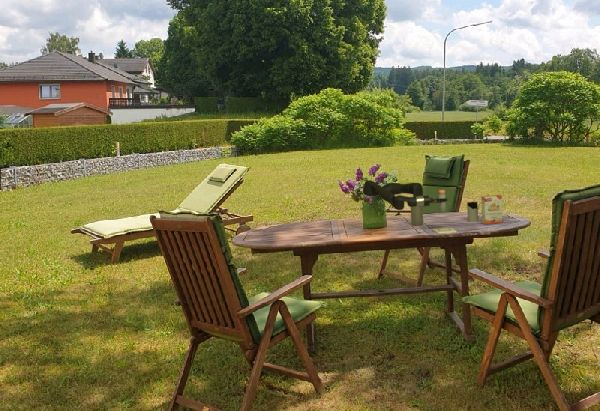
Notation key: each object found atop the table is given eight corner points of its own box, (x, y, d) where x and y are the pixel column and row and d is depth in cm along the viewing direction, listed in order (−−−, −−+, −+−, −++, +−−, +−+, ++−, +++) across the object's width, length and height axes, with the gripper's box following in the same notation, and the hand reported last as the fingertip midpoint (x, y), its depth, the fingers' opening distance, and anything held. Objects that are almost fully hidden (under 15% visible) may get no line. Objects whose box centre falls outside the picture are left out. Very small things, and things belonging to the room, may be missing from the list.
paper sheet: (432, 230, 432) (432, 228, 432) (450, 229, 432) (450, 227, 432) (438, 233, 416) (437, 232, 416) (456, 232, 416) (456, 230, 416)
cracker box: (485, 224, 440) (484, 196, 438) (481, 223, 446) (480, 196, 444) (503, 222, 442) (501, 195, 440) (498, 222, 448) (497, 194, 446)
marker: (438, 212, 425) (437, 190, 424) (445, 211, 425) (444, 189, 424) (440, 212, 421) (439, 190, 419) (446, 212, 421) (445, 189, 419)
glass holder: (465, 221, 463) (464, 202, 462) (481, 219, 467) (480, 200, 465) (471, 222, 455) (470, 203, 453) (487, 220, 458) (486, 201, 457)
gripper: (420, 205, 429) (444, 203, 429) (424, 207, 415) (449, 205, 415) (420, 195, 429) (443, 193, 429) (424, 196, 415) (448, 194, 414)
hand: (446, 199), depth 422 cm, fingers closed on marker, 4 cm apart
